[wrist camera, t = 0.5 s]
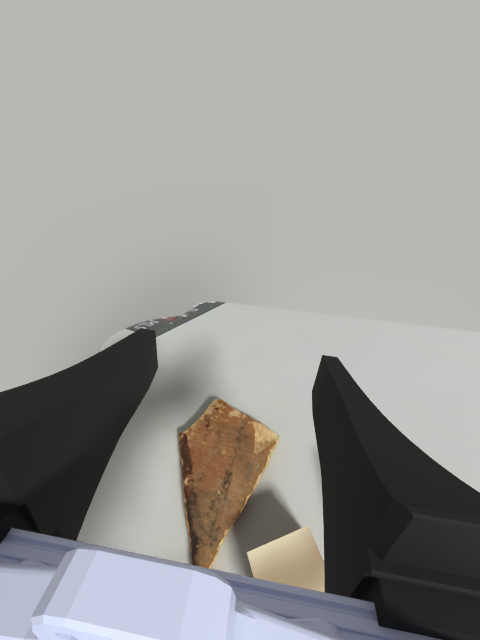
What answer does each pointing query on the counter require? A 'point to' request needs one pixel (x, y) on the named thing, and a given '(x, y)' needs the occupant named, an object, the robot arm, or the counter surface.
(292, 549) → the maple block
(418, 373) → the counter surface
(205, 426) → the shard
